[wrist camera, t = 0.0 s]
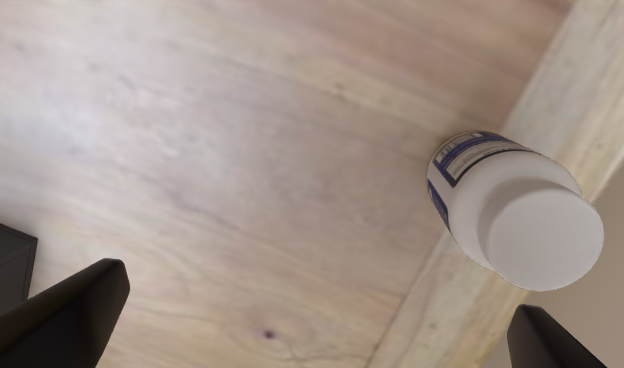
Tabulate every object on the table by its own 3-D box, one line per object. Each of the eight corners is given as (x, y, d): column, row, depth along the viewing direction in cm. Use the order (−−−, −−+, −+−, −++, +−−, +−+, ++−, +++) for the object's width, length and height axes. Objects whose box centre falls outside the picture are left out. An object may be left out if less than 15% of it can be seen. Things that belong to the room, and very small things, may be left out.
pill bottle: (506, 225, 24) (597, 322, 15) (416, 210, 25) (450, 295, 15) (533, 137, 23) (652, 184, 14) (436, 121, 23) (488, 157, 14)
